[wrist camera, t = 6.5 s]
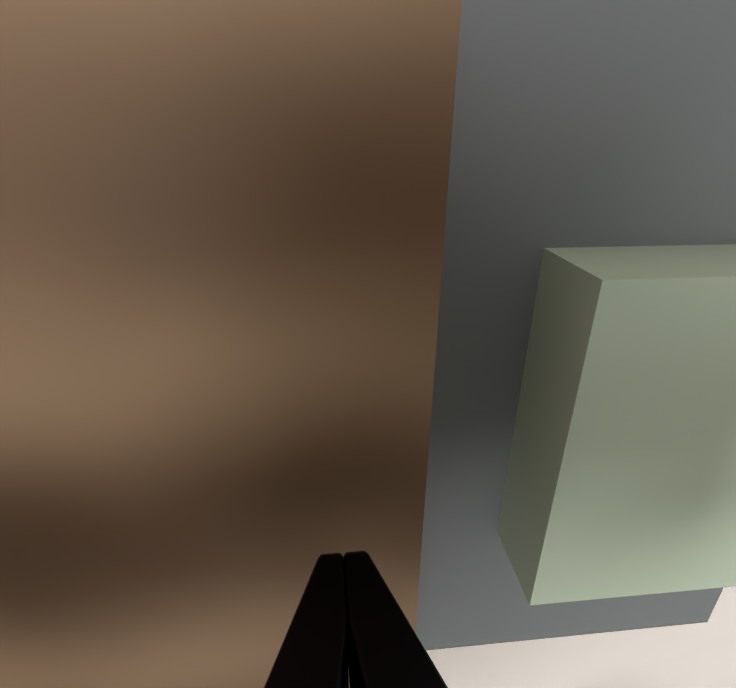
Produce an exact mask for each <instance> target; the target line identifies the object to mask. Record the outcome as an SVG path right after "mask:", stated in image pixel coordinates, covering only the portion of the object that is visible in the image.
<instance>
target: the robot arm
mask: <svg viewBox="0 0 736 688" xmlns="http://www.w3.org/2000/svg"><path fill="white" fill-rule="evenodd" d="M348 668H349V671H348ZM349 684H350V688H448V687H447V686H446V684H445V682H444V680H443V679H442V677H441V675H440V674H439V672H438V670H437V669H436V667H435V665H434V664H433V662H432V660H431V659H430V657H429V655H428V653H427V652H426V650H425V648H424V647H423V645H422V643H421V642H420V640H419V638H418V637H417V635H416V633H415V631H414V630H413V628H412V626H411V625H410V623H409V621H408V620H407V618H406V616H405V615H404V613H403V611H402V609H401V608H400V606H399V604H398V603H397V601H396V599H395V598H394V596H393V594H392V593H391V591H390V589H389V588H388V586H387V584H386V582H385V581H384V579H383V577H382V576H381V574H380V572H379V571H378V569H377V567H376V566H375V564H374V562H373V560H372V559H371V557H370V555H369V554H368V553H367V552H366V551H354V552H346V553H345V554H344V557H343V555H342V554H341V553H329V554H321V555H320V556H319V557H318V559H317V561H316V564H315V566H314V569H313V571H312V573H311V576H310V578H309V581H308V583H307V585H306V588H305V590H304V593H303V595H302V597H301V600H300V602H299V605H298V607H297V609H296V612H295V614H294V617H293V619H292V621H291V624H290V626H289V629H288V631H287V633H286V636H285V638H284V641H283V643H282V645H281V648H280V650H279V653H278V655H277V657H276V660H275V662H274V665H273V667H272V669H271V672H270V674H269V677H268V679H267V681H266V684H265V686H264V688H349Z"/></svg>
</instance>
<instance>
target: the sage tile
mask: <svg viewBox="0 0 736 688" xmlns="http://www.w3.org/2000/svg"><path fill="white" fill-rule="evenodd" d="M497 533H498V535H499V537H500V540H501V542H502V544H503V546H504V549H505V551H506V553H507V555H508V558H509V560H510V562H511V564H512V567H513V569H514V571H515V573H516V576H517V578H518V580H519V582H520V585H521V587H522V589H523V591H524V594H525V596H526V598H527V601H528V603H529V605H540V604H551V603H561V602H572V601H583V600H594V599H604V598H615V597H626V596H637V595H647V594H658V593H669V592H679V591H690V590H701V589H712V588H722V587H733V586H736V244H720V245H669V246H618V247H568V248H544V250H543V256H542V262H541V269H540V275H539V281H538V287H537V293H536V299H535V305H534V311H533V317H532V323H531V329H530V335H529V341H528V348H527V354H526V360H525V366H524V372H523V378H522V384H521V390H520V396H519V402H518V408H517V414H516V420H515V427H514V433H513V439H512V445H511V451H510V457H509V463H508V469H507V475H506V481H505V487H504V493H503V500H502V506H501V512H500V518H499V524H498V530H497Z"/></svg>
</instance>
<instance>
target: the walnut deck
mask: <svg viewBox="0 0 736 688" xmlns="http://www.w3.org/2000/svg"><path fill="white" fill-rule="evenodd" d="M461 3H462V0H0V688H264V686H265V684H266V681H267V679H268V677H269V674H270V672H271V669H272V667H273V665H274V662H275V660H276V657H277V655H278V653H279V650H280V648H281V645H282V643H283V641H284V638H285V636H286V633H287V631H288V629H289V626H290V624H291V621H292V619H293V617H294V614H295V612H296V609H297V607H298V605H299V602H300V600H301V597H302V595H303V593H304V590H305V588H306V585H307V583H308V581H309V578H310V576H311V573H312V571H313V569H314V566H315V564H316V561H317V559H318V557H319V556H320V555H321V554H329V553H341V554H342V555H343V557H344V554H345V553H346V552H354V551H366V552H367V553H368V554H369V555H370V557H371V559H372V560H373V562H374V564H375V566H376V567H377V569H378V571H379V572H380V574H381V576H382V577H383V579H384V581H385V582H386V584H387V586H388V588H389V589H390V591H391V593H392V594H393V596H394V598H395V599H396V601H397V603H398V604H399V606H400V608H401V609H402V611H403V613H404V615H405V616H406V618H407V620H408V621H409V623H410V625H411V626H412V628H413V630H414V631H415V630H416V616H417V602H418V589H419V575H420V562H421V548H422V534H423V521H424V507H425V493H426V480H427V466H428V452H429V439H430V425H431V412H432V398H433V384H434V371H435V357H436V343H437V330H438V316H439V302H440V289H441V275H442V262H443V248H444V234H445V221H446V207H447V193H448V180H449V166H450V153H451V139H452V125H453V112H454V98H455V84H456V71H457V57H458V43H459V30H460V16H461ZM348 671H349V668H348ZM349 688H350V684H349Z"/></svg>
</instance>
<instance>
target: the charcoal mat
mask: <svg viewBox="0 0 736 688" xmlns="http://www.w3.org/2000/svg"><path fill="white" fill-rule="evenodd" d="M720 244H736V0H462V3H461V16H460V30H459V43H458V57H457V71H456V84H455V98H454V112H453V125H452V139H451V153H450V166H449V180H448V193H447V207H446V221H445V234H444V248H443V262H442V275H441V289H440V302H439V316H438V330H437V343H436V357H435V371H434V384H433V398H432V412H431V425H430V439H429V452H428V466H427V480H426V493H425V507H424V521H423V534H422V548H421V562H420V575H419V589H418V602H417V616H416V630H415V633H416V635H417V637H418V638H419V640H420V642H421V643H422V645H423V647H424V648H425V650H433V649H443V648H453V647H463V646H473V645H483V644H493V643H503V642H513V641H523V640H533V639H543V638H553V637H563V636H573V635H583V634H593V633H603V632H612V631H622V630H632V629H642V628H652V627H662V626H672V625H682V624H692V623H702V622H707V621H708V619H709V617H710V615H711V613H712V611H713V609H714V606H715V604H716V602H717V600H718V598H719V596H720V594H721V592H722V589H723V587H722V588H712V589H701V590H690V591H679V592H669V593H658V594H647V595H637V596H626V597H615V598H604V599H594V600H583V601H572V602H561V603H551V604H540V605H529V603H528V601H527V598H526V596H525V594H524V591H523V589H522V587H521V585H520V582H519V580H518V578H517V576H516V573H515V571H514V569H513V567H512V564H511V562H510V560H509V558H508V555H507V553H506V551H505V549H504V546H503V544H502V542H501V540H500V537H499V535H498V533H497V530H498V524H499V518H500V512H501V506H502V500H503V493H504V487H505V481H506V475H507V469H508V463H509V457H510V451H511V445H512V439H513V433H514V427H515V420H516V414H517V408H518V402H519V396H520V390H521V384H522V378H523V372H524V366H525V360H526V354H527V348H528V341H529V335H530V329H531V323H532V317H533V311H534V305H535V299H536V293H537V287H538V281H539V275H540V269H541V262H542V256H543V250H544V248H568V247H618V246H669V245H720Z"/></svg>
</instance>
